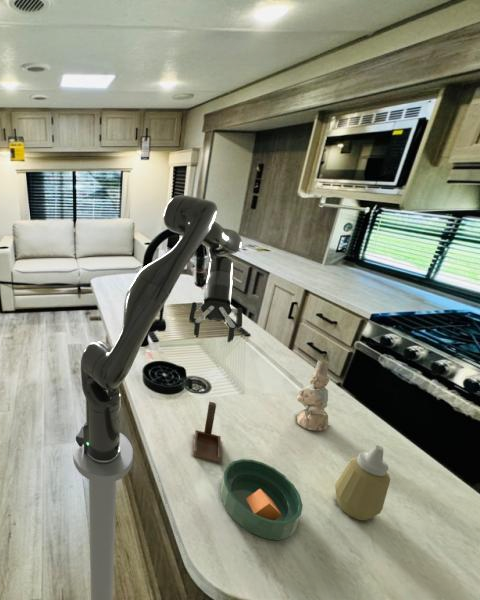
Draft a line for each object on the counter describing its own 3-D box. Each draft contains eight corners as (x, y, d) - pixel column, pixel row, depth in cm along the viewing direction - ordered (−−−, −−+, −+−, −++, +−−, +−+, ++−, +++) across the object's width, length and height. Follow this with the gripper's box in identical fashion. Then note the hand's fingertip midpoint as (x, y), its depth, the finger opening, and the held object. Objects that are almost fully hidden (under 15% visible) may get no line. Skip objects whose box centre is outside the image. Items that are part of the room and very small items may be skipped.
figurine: (306, 409, 99) (323, 356, 92) (334, 428, 92) (355, 371, 84) (286, 417, 96) (302, 362, 89) (314, 437, 89) (334, 379, 81)
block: (260, 488, 68) (269, 503, 65) (272, 499, 69) (282, 515, 65) (245, 498, 69) (254, 514, 65) (257, 510, 70) (266, 526, 66)
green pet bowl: (221, 524, 67) (224, 507, 65) (220, 467, 80) (223, 451, 78) (303, 553, 62) (310, 535, 60) (288, 487, 75) (293, 470, 73)
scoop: (195, 432, 92) (199, 399, 87) (219, 438, 89) (225, 405, 85) (193, 456, 84) (198, 421, 79) (219, 463, 81) (226, 428, 77)
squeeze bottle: (325, 486, 75) (347, 428, 68) (367, 497, 72) (394, 438, 66) (337, 518, 68) (363, 457, 61) (384, 532, 65) (416, 470, 59)
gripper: (194, 281, 94) (187, 331, 89) (246, 286, 89) (242, 339, 84) (193, 291, 101) (186, 339, 95) (241, 296, 96) (238, 347, 90)
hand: (212, 339), depth 89 cm, fingers open, 8 cm apart
